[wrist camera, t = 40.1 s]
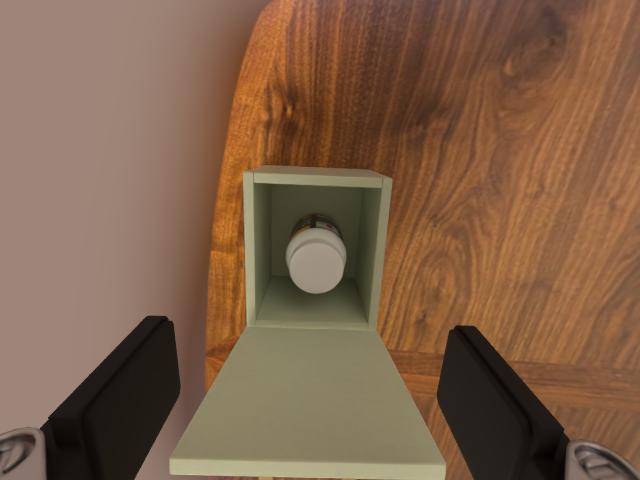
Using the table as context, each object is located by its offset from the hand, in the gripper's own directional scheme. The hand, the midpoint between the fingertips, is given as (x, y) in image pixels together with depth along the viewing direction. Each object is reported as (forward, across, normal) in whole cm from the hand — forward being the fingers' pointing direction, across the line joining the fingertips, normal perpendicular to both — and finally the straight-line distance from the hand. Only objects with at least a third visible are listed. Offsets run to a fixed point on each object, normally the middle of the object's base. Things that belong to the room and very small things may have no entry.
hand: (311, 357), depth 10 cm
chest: (+26, 0, +2) cm, 26 cm away
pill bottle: (+26, 0, +3) cm, 26 cm away
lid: (+8, 0, +7) cm, 11 cm away
